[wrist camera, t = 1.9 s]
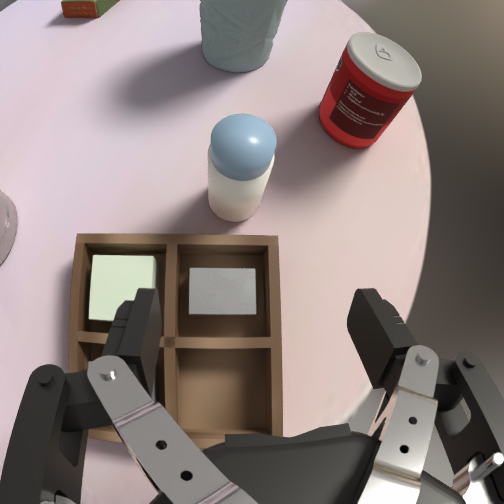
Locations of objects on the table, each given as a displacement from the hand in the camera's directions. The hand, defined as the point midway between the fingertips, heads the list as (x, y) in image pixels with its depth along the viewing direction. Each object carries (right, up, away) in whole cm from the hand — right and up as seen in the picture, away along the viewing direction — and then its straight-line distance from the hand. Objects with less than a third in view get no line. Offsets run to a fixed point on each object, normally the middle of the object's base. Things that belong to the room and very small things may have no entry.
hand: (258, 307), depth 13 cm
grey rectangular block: (-3, -1, +14) cm, 14 cm away
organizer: (-7, -5, +13) cm, 15 cm away
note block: (-11, -1, +13) cm, 17 cm away
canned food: (+11, +17, +22) cm, 30 cm away
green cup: (-2, +28, +23) cm, 36 cm away
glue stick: (-2, +7, +17) cm, 19 cm away
